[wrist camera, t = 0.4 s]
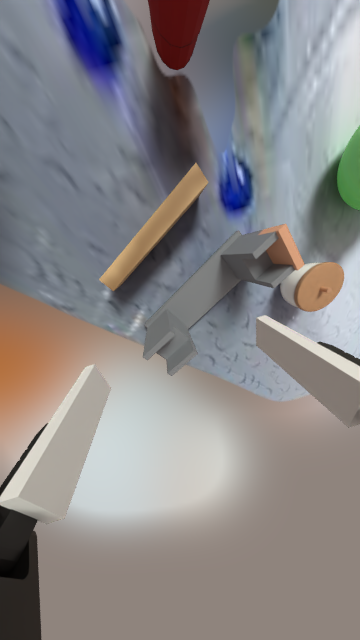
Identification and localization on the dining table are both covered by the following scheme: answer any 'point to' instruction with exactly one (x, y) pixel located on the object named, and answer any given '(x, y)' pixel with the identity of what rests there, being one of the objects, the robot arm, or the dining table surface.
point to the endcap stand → (219, 288)
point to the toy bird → (350, 172)
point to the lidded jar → (313, 285)
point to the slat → (156, 227)
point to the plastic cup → (176, 28)
